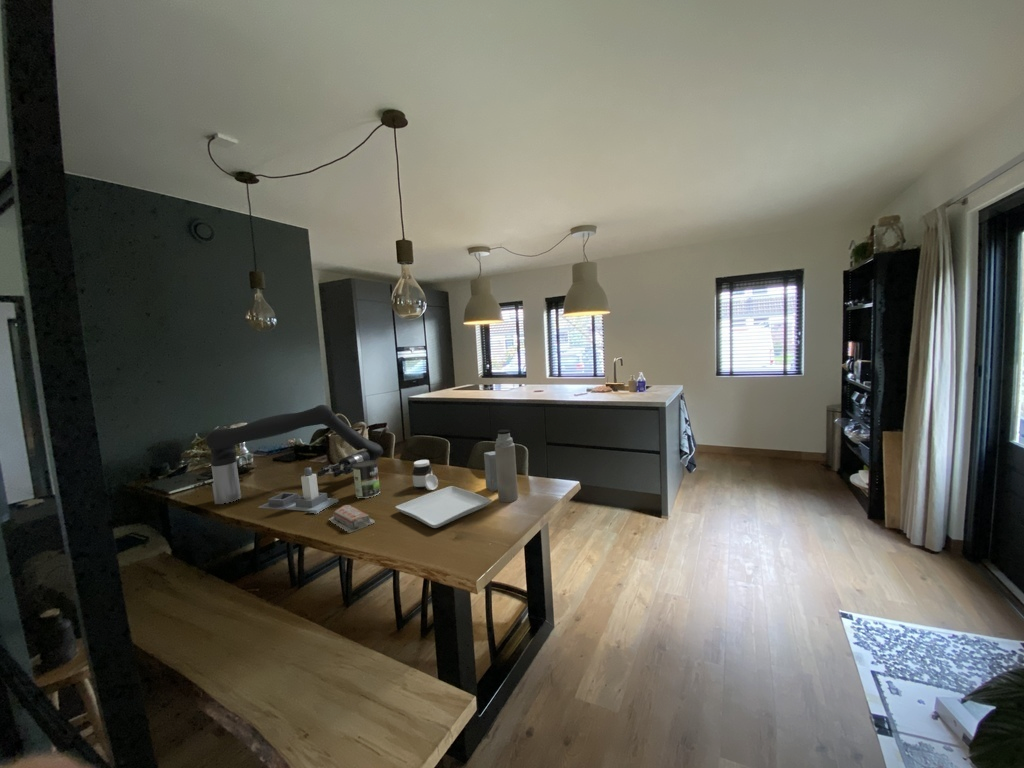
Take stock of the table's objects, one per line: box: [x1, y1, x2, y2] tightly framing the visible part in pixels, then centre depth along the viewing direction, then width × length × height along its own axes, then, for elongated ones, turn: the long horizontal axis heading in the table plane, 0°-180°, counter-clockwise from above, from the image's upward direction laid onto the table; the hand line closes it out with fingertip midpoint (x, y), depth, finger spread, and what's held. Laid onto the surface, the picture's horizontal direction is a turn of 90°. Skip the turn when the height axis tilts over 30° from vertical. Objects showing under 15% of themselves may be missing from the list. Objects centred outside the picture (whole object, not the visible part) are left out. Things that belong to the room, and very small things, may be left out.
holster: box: [256, 492, 303, 510], centre depth 174 cm, size 14×14×4 cm
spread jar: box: [411, 459, 439, 491], centre depth 182 cm, size 12×11×12 cm
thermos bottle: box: [494, 429, 519, 503], centre depth 162 cm, size 8×8×28 cm
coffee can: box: [352, 460, 381, 499], centre depth 178 cm, size 10×10×14 cm
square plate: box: [394, 485, 493, 529], centre depth 155 cm, size 27×27×4 cm
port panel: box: [284, 492, 339, 515], centre depth 168 cm, size 16×12×4 cm
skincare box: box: [483, 450, 498, 493], centre depth 176 cm, size 8×7×16 cm
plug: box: [300, 466, 320, 500], centre depth 168 cm, size 4×4×15 cm
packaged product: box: [328, 504, 376, 534], centre depth 151 cm, size 18×5×10 cm
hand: (326, 474), depth 176 cm, fingers open, 8 cm apart
